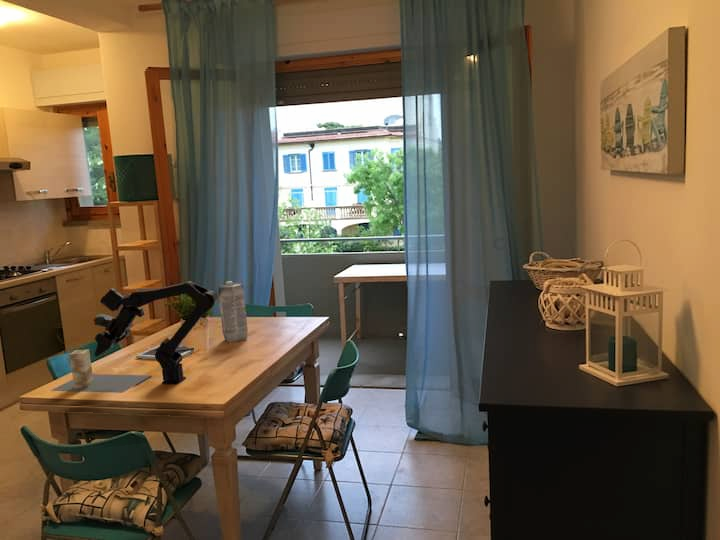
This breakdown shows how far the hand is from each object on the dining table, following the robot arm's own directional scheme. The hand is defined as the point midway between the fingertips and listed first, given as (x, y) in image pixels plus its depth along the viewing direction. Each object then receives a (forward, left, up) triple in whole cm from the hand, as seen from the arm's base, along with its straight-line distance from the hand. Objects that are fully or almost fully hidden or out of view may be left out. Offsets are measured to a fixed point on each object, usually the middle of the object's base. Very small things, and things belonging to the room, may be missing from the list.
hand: (101, 352), depth 219 cm
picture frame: (-3, -38, -14) cm, 41 cm away
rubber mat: (+2, -1, -13) cm, 13 cm away
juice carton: (-24, -61, -13) cm, 67 cm away
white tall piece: (+7, +2, -12) cm, 14 cm away
